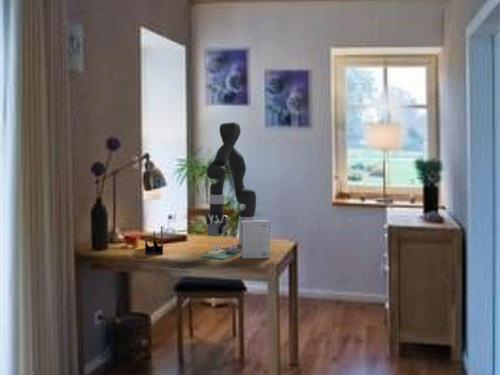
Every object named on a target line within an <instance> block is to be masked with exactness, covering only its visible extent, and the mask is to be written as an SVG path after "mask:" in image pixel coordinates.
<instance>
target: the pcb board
mask: <svg viewBox="0 0 500 375" xmlns="http://www.w3.org/2000/svg"><path fill="white" fill-rule="evenodd" d="M237 246H238V245H237V243H235V244H232V245H229V249H227V250H226V249H221V244H218V245H215V246H213V249H212V250H211V251H208V252H207V253H205V254H203V255H201V257H202V258H205V257H206V258H207V259H213V258H214V259H213V260H220V259H221V260H220V261H225V260H227V259H231V258H233V256H234V257H237V256H239V255H242V249H241V248H238V247H237ZM236 255H237V256H236ZM230 257H231V258H230Z"/></svg>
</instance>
